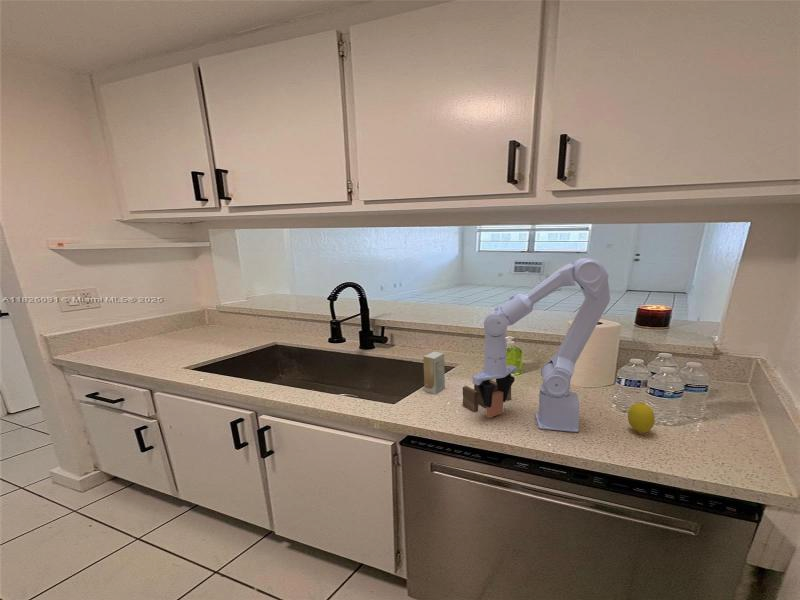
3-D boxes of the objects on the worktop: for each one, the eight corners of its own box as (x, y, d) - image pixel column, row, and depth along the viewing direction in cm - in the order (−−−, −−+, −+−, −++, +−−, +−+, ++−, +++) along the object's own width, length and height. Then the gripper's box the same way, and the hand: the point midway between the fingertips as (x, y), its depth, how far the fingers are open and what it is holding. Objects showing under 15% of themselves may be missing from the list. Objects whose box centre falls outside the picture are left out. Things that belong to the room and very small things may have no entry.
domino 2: (477, 401, 111) (477, 382, 110) (489, 407, 107) (489, 387, 106) (474, 402, 110) (474, 383, 109) (485, 408, 106) (486, 389, 105)
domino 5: (498, 394, 115) (499, 376, 114) (511, 399, 111) (511, 380, 110) (495, 395, 115) (495, 376, 114) (507, 400, 110) (508, 382, 109)
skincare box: (434, 385, 124) (433, 350, 122) (445, 388, 121) (445, 352, 119) (423, 391, 119) (422, 355, 117) (434, 395, 116) (433, 358, 114)
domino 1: (466, 404, 109) (466, 385, 108) (477, 411, 104) (478, 391, 103) (462, 406, 108) (462, 386, 107) (474, 412, 104) (474, 392, 103)
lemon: (621, 427, 93) (623, 398, 92) (642, 426, 93) (644, 397, 92) (637, 439, 88) (639, 408, 86) (658, 437, 88) (661, 406, 87)
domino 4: (503, 412, 101) (503, 392, 100) (489, 417, 99) (490, 396, 98) (499, 410, 103) (499, 390, 102) (486, 415, 100) (486, 394, 99)
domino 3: (488, 397, 113) (488, 379, 112) (500, 403, 109) (500, 384, 108) (485, 398, 112) (485, 380, 111) (497, 404, 108) (497, 385, 107)
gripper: (503, 347, 105) (502, 392, 107) (464, 357, 98) (465, 404, 100) (522, 353, 99) (521, 400, 101) (483, 364, 92) (483, 414, 94)
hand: (494, 403), depth 100 cm, fingers closed on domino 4, 5 cm apart
